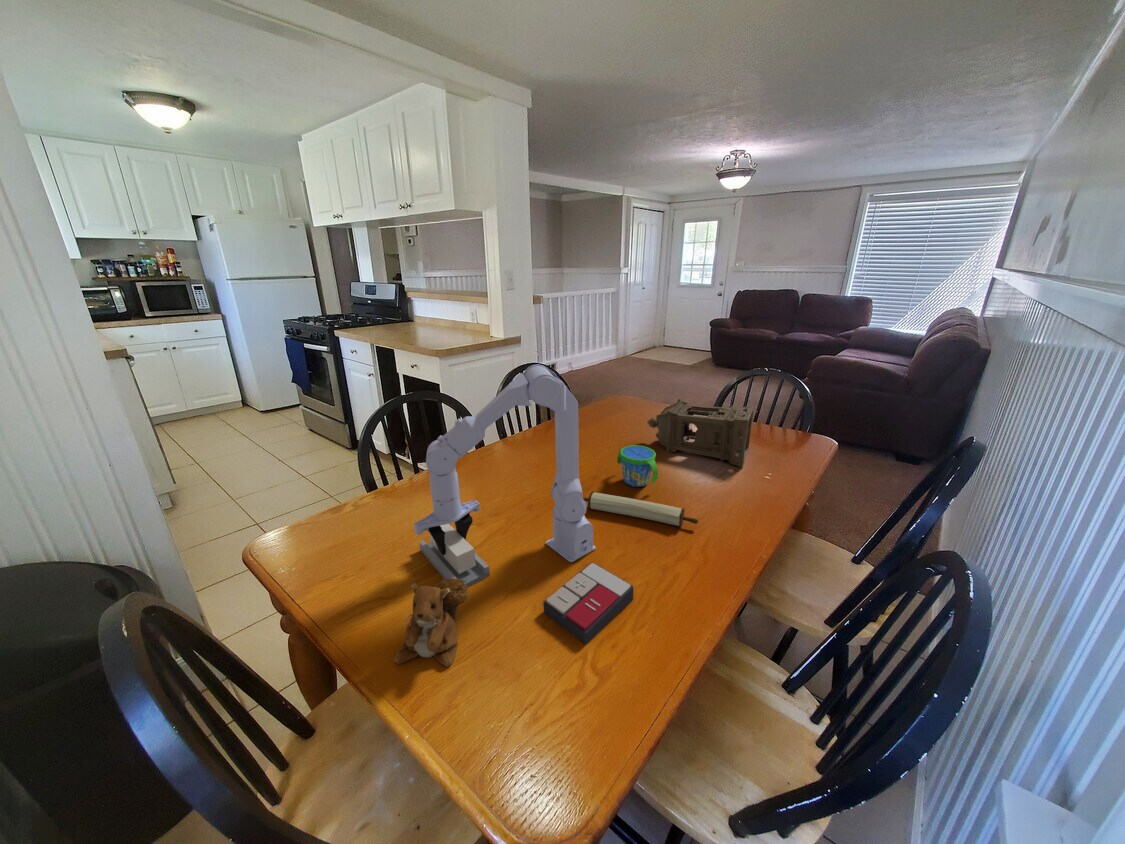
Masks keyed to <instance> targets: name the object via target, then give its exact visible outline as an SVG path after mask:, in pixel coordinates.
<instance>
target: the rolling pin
mask: <svg viewBox="0 0 1125 844" xmlns="http://www.w3.org/2000/svg"><path fill="white" fill-rule="evenodd" d="M583 500H584V501H585V502H587V508H588V509H587V510H597V511H600V512H601V511H603V512H608V513H613V514H619V515H624V516H630V517H635V518H640V519H644V520H649V521H655V522H659V523H663V524H668V525H673V526H677V527H679V529H681V528H682V527H683V524H684V521H686V522H688V523H691V524H695V525H697V524H698V523H699V519H697V518H694V517H690V516H685V512H686V509H685V508H684V507H682V508H680V507H676V506H672V505H667V504H662V503H657V502H652V501H647V500H642V499H636V498H630V497H624V496H619V495H615V494H614V495H613V494H612V495H611V494H607V493H602V492H601V493H600V492H595V491H594V490H593V491H591V492H590V493H589V496H588V497H586V496H585V497H584V496H583Z"/></svg>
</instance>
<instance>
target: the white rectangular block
mask: <svg viewBox="0 0 1125 844" xmlns="http://www.w3.org/2000/svg"><path fill="white" fill-rule="evenodd" d="M440 527H442V530H443V531H444V532H445V549H446V554H445V555H442V556H443V557H444V558H445V559H446V560H447V561H448V562H449V563H450V565H451V566H452V567H453V568H454V569H455V570H456V571H457V572H458V574H460V573H462V572H464V571H466V570H468V569H470V568H472V567H474V566H476V562H475V553H476V552H475V548H474V546H472V545H471V544H470V543H469V542H468V541H467V539H466V540H465V539H464V538H463V537H462V536H461V535H460V534H459V533H458V532H457V531H456V528H454V527H453V526H452V525H451V523H450V524H445V525H440ZM429 539H430V543H432V544H433V546H434V547H435V548H436V549H437V550H438V547H437V544H436V542H435V540H434V539H433V537H432V536H431V534H430V533H429ZM438 551H439V550H438Z"/></svg>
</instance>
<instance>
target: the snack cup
mask: <svg viewBox="0 0 1125 844" xmlns="http://www.w3.org/2000/svg"><path fill="white" fill-rule="evenodd" d="M656 457H657V454H656V452H655V450H654V449H652V448H650V447H648V446H644V445H636V444H633V445H632V444H631V445H626V446H624V447H622V448H620V449H619V451H618V454H617V457H616V462H617V464H620V465H621V466H622V467H621V468H622V478H623V480H622V481H623V482H624V483H625V484H626V485H628V486H631V487H632V488H635V487H636V488H641V487H646V485H648V483H649V480H650V478H651V480H650V483H655V482H656V481H658V479H659V472H658V470H659V469H658V465H657V462H656ZM651 472H652V473H651ZM651 474H652V476H651Z"/></svg>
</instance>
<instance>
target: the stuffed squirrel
mask: <svg viewBox="0 0 1125 844" xmlns="http://www.w3.org/2000/svg"><path fill="white" fill-rule="evenodd" d="M465 582H466V580H465V581H464V580H460V579H459V578H456V579H452V578H449V579H444V578H442V580H440V581H439V582H438V583H436V585H434V586H432V585H431V586H428V585H421V586H418V584H417V583H416V582H415V583H413V584H411V588H412V591H413V593H414V595H413V598H412V599H413V600H412V614H410V615H408V616H407V617H406V618H405V621H404V622H407V621H408V619H409V618H410V619H409V623H408V625H407V626H406V629H405V632H404V642H405V643H404V644H403V645H402V646H401V647H400V648H399V650H398V651H397V653H396V654H395V656H394V658H393V660H394V662H395V663H396V664H398V665H400V664H403V663H406V662H408V661H410V660H412V659H414V658H416V657H418V656H420V657H422V658H432V657H434V658H435V659H436V660H437V662H439V664H441V665H442V666H444V667H445V668H448V667H451V666H452V665H453V662H454V660H455V657H456V654H457V650H458V646H459V645H458V644H459V643H458V642H459V641H458V635H457V628H456V623H455V622H456V621H457V616H458V615H457V614H458V608H459V606H460V605H462V604H464V602H466V600H467V597H468V596H470V594H469V590H468V587H467V586H466V585H465V584H464V583H465Z"/></svg>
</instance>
